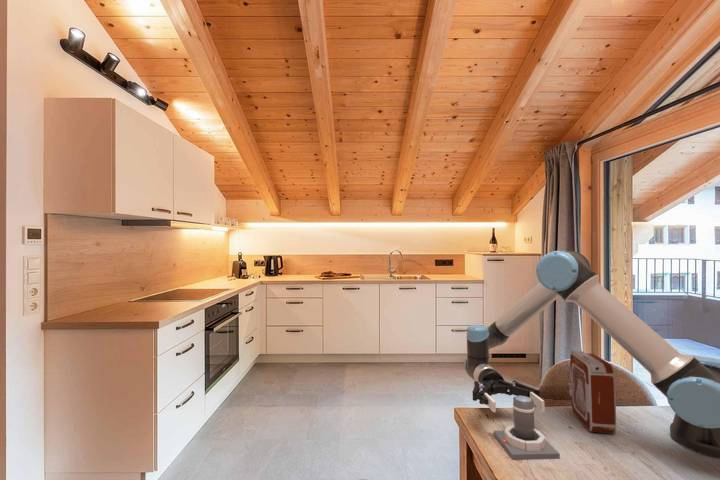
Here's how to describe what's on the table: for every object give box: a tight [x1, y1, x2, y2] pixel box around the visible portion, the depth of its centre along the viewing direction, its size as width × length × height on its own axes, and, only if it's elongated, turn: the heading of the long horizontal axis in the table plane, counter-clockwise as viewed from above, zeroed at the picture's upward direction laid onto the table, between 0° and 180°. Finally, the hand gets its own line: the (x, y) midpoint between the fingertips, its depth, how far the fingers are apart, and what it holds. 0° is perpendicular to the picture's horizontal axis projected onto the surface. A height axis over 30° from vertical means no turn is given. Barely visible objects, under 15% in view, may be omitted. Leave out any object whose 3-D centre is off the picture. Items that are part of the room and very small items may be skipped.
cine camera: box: [567, 350, 617, 434], centre depth 110 cm, size 9×19×20 cm, turn 169°
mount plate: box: [493, 424, 561, 460], centre depth 95 cm, size 12×12×3 cm
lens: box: [512, 395, 535, 441], centre depth 96 cm, size 5×5×11 cm
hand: (518, 406), depth 98 cm, fingers open, 13 cm apart
